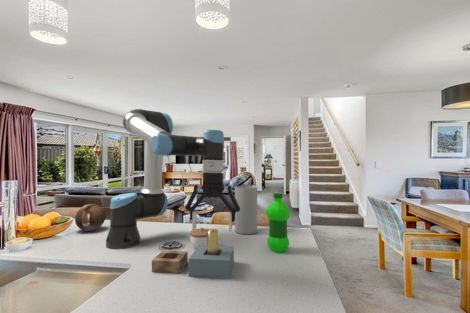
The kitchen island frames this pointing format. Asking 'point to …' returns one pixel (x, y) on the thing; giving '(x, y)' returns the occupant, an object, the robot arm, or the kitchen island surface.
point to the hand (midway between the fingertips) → (212, 229)
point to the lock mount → (170, 261)
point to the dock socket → (211, 262)
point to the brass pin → (212, 242)
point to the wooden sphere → (90, 217)
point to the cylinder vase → (246, 210)
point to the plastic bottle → (278, 224)
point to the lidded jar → (198, 237)
